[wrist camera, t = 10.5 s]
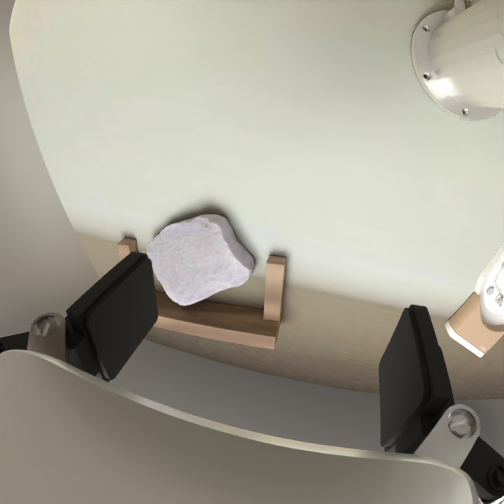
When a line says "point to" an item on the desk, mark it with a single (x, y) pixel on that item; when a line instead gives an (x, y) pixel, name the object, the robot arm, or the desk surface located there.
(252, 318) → the walnut frame
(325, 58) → the desk surface
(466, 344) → the record player
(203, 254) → the stone block
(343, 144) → the desk surface
